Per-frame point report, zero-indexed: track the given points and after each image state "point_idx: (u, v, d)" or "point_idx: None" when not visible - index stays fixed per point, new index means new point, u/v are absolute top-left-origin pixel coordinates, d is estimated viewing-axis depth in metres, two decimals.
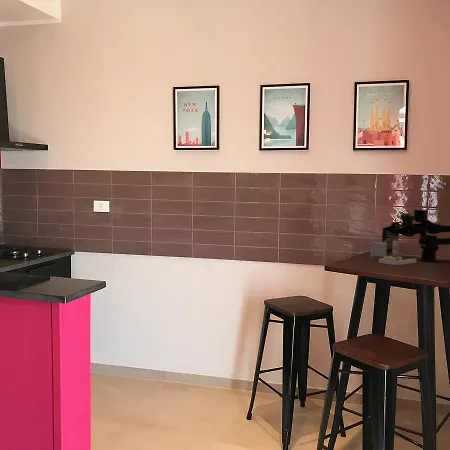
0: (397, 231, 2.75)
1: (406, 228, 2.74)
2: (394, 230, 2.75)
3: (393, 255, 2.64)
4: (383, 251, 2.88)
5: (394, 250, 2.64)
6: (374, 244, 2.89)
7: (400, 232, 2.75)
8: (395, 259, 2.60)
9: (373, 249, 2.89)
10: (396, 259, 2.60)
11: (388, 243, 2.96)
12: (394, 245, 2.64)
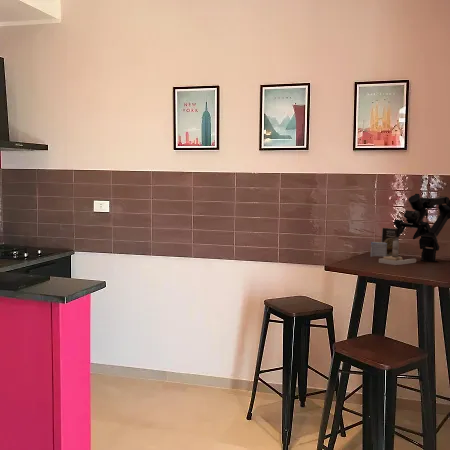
0: (417, 236, 2.67)
1: (422, 228, 2.66)
2: (414, 237, 2.66)
3: (393, 255, 2.64)
4: (383, 251, 2.88)
5: (394, 250, 2.64)
6: (373, 244, 2.89)
7: (419, 234, 2.67)
8: (395, 259, 2.60)
9: (373, 249, 2.89)
10: (396, 259, 2.60)
11: (388, 243, 2.96)
12: (394, 245, 2.64)
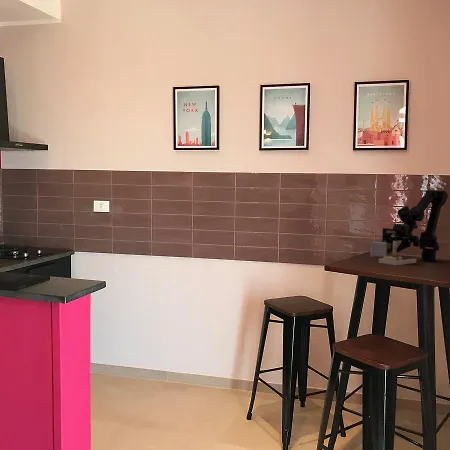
0: (401, 249, 2.63)
1: (406, 241, 2.63)
2: (398, 250, 2.63)
3: (393, 255, 2.64)
4: (383, 251, 2.88)
5: (394, 250, 2.64)
6: (373, 244, 2.89)
7: (403, 247, 2.64)
8: (395, 259, 2.60)
9: (373, 249, 2.89)
10: (396, 259, 2.60)
11: (388, 243, 2.96)
12: (394, 245, 2.64)
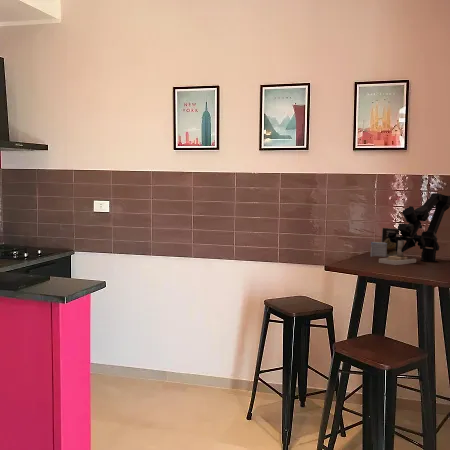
0: (405, 248, 2.66)
1: (411, 241, 2.66)
2: (403, 250, 2.66)
3: (398, 254, 2.67)
4: (383, 251, 2.88)
5: (399, 250, 2.67)
6: (373, 244, 2.89)
7: (408, 247, 2.67)
8: (400, 258, 2.63)
9: (373, 249, 2.89)
10: (401, 258, 2.63)
11: (388, 243, 2.96)
12: (399, 245, 2.67)
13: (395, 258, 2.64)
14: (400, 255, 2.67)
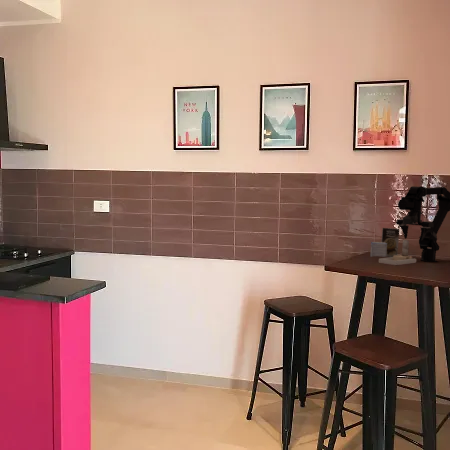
0: (423, 235, 2.76)
1: (426, 228, 2.73)
2: (422, 238, 2.76)
3: (403, 254, 2.70)
4: (383, 251, 2.88)
5: (404, 249, 2.70)
6: (373, 244, 2.89)
7: (425, 233, 2.76)
8: (405, 258, 2.66)
9: (373, 249, 2.89)
10: (406, 258, 2.66)
11: (388, 243, 2.96)
12: (404, 244, 2.69)
13: (400, 257, 2.67)
14: (405, 254, 2.69)
